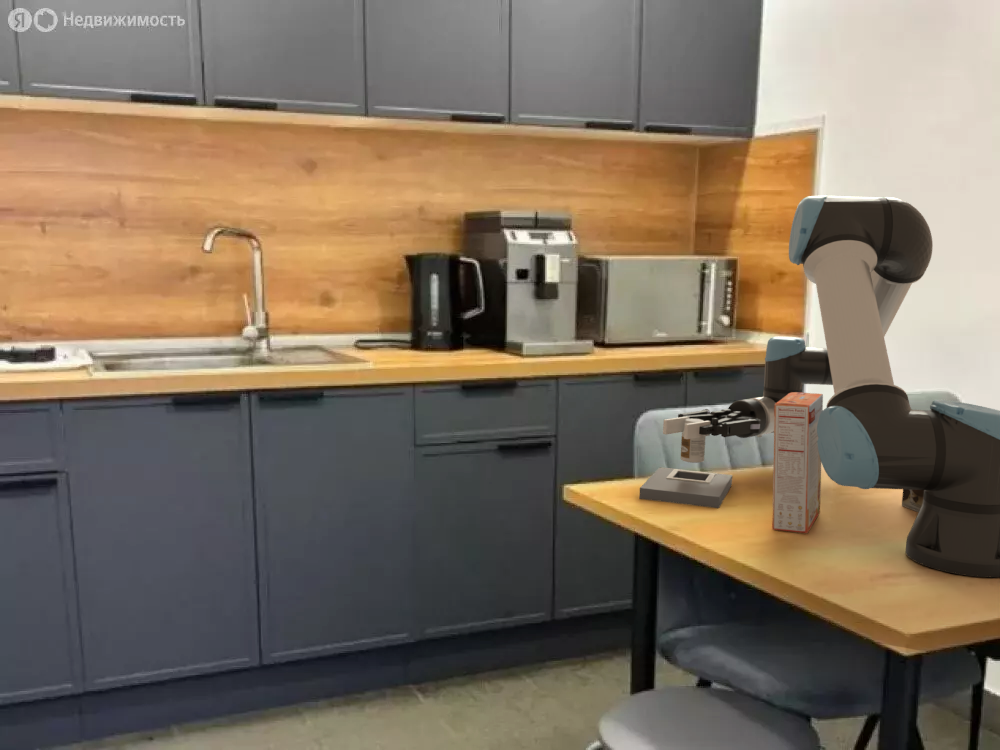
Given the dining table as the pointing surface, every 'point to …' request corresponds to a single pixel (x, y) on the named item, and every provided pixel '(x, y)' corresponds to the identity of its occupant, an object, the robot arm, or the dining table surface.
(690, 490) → the socket plate
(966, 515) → the robot arm
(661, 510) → the dining table surface
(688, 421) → the pill bottle
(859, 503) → the dining table surface
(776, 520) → the cracker box
